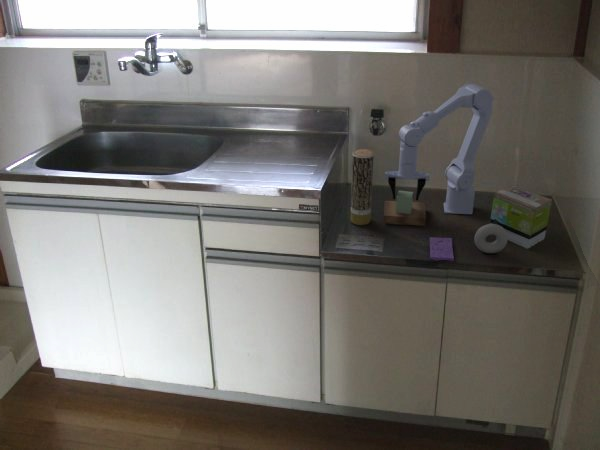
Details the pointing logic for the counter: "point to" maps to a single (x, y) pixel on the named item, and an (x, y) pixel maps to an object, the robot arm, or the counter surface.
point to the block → (404, 202)
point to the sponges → (441, 248)
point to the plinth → (405, 219)
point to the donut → (491, 230)
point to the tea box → (521, 215)
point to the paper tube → (361, 186)
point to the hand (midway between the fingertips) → (405, 198)
